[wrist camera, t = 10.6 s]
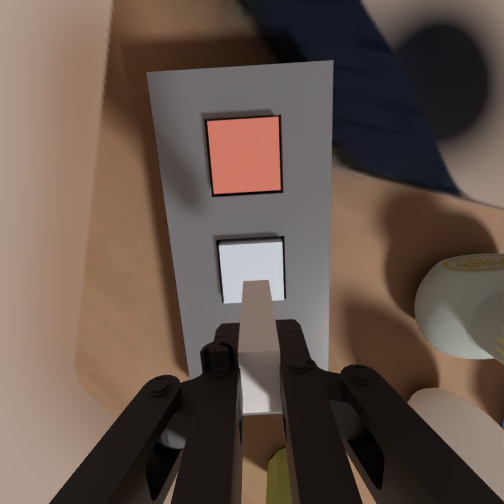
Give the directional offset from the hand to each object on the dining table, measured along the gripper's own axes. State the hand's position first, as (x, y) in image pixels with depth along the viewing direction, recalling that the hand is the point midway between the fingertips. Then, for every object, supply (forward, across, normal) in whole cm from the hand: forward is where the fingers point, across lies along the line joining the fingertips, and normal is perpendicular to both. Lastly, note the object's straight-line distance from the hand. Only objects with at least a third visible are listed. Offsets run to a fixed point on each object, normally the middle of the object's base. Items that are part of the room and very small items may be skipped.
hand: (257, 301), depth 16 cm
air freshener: (+11, +20, -6) cm, 24 cm away
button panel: (+11, 0, -1) cm, 11 cm away
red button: (+9, 0, +8) cm, 13 cm away
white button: (+9, 0, -1) cm, 9 cm away
